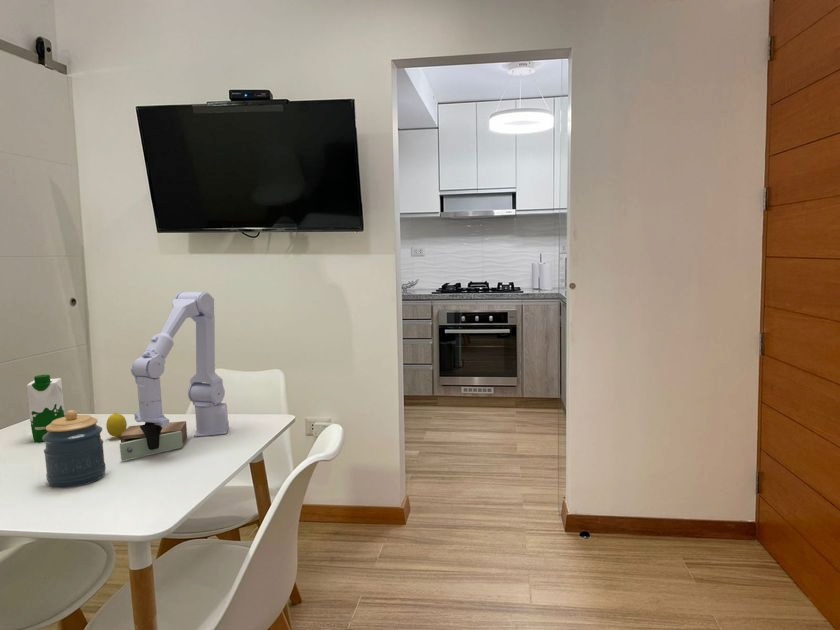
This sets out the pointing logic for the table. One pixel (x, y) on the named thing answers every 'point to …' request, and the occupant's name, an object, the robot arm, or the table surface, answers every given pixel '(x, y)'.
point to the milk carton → (44, 404)
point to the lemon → (116, 425)
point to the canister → (73, 451)
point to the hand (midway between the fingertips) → (153, 448)
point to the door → (141, 447)
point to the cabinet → (137, 433)
